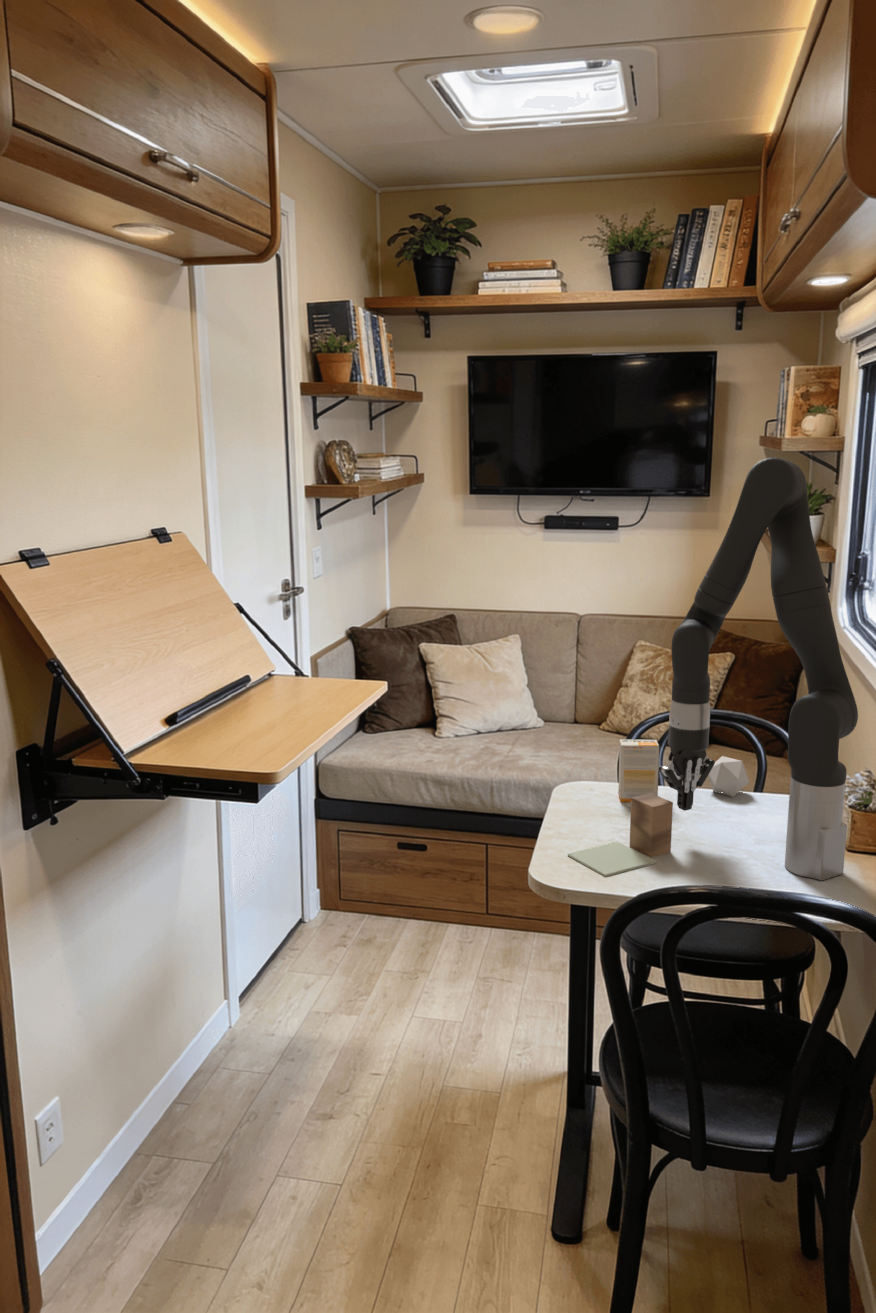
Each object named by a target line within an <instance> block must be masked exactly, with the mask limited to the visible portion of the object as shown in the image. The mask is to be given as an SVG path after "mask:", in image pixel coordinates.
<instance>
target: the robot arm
mask: <svg viewBox="0 0 876 1313" xmlns="http://www.w3.org/2000/svg"><path fill="white" fill-rule="evenodd" d="M807 487H808V485H807V480H806V476H805V473H804V472H803V470H802V469H801V468H800V467H799V465H798V464H796V463H794V462H792V461H790V460H787V459H784V458H780V457H767V458H763V459H760V460H759V461H757V462H756V463H755V464H753V466H752V467H751V468H750V469H749V471H748V473H747V475H746V477H745V480H744V483H743V486H742V488H741V492H740V495H739V499H738V501H737V505H736V507H735V511H734V513H733V516H732V518H731V519H730V520H731V521H730V523H729V526H728V528H727V530H726V533H725V535H724V537H723V540H722V542H721V543H720V546H719V548H718V550H717V551H716V553H715V555H714V558H713V560H712V561H711V563H710V565H709V567H708V569H707V571H706V572H705V574H704V577H703V579H702V580H701V583H700V584H699V587H698V589H697V590H696V591H695V594H694V601H693V603H692V604H691V606H690V608H689V610H688V612H687V614H686V616H685V617H684V618H683V620H682V622H681V624H680V625H679V626H677V628H676V629H675V631H674V632H673V634H672V638H671V663H672V664H671V665H672V666H671V667H672V674H673V676H672V677H673V678H672V683H671V684H672V685H671V702H670V708H669V715H668V717H669V720H668V740H667V744H668V746H669V748H670V751H669V755H668V761H667V762H666V764H665V765H664V766H663V765H659V770H658V773H660V775H661V776H662V777H663V779H664V781H665V782H666V783H667V785H668V787H669V788H670V789H673V790H676V791H677V798H676V799H677V800H676V801H677V802H676V804H677V807H678V808H679V810H682V811H684V812H685V811H690V810H692V806H693V805H694V793H695V792H696V790H697V788H698V787H699V788H701V787H702V786H703V784H704V783H705V781H706V780H707V778H708V775H709V773H710V771H711V769H712V768H713V766H714V764H715V762H716V761H715V760H713V759H712V758H709V757H708V756H707V749H708V747H709V741H710V740H709V739H710V737H709V736H710V721H711V720H710V718H711V710H710V709H711V708H710V698H711V697H710V695H711V694H710V690H711V677H710V674H709V662H710V661H709V660H710V659H709V658H710V657H709V656H710V650H711V648H712V646H713V645H714V642H715V640H716V639H717V638H718V635H719V633H720V630H721V629H722V626H723V624H724V621H725V619H726V616H727V615H728V613H729V612H730V611H731V609H732V608H733V607H734V606H733V605H734V604H735V603H736V600H737V598H738V597H739V594H740V593H741V591H742V589H743V588H744V586H745V584H746V582H747V579H748V577H749V574H750V571H751V568H752V565H753V561H754V559H755V556H756V552H757V550H758V547H759V545H760V543H761V540H762V538H763V537H764V535H765V532H766V531H767V530H768V533H769V539H770V546H771V553H770V556H771V559H770V589H771V595H772V600H773V604H774V610H775V614H776V619H777V621H778V625H779V627H780V629H781V631H782V633H783V635H784V636H785V638H786V639H787V642H788V643H789V644H790V645H791V647H792V648H793V650H794V651H795V654H796V655H797V657H798V658H799V660H800V662H801V665H802V667H803V671H804V675H805V679H806V680H805V681H806V684H807V692H808V694H805V695H803V696H801V697H800V698H798V699H797V700H795V701H794V703H793V705H792V706H791V708H790V712H789V717H788V728H787V729H788V730H787V734H788V735H787V758H788V759H787V760H788V763H789V766H790V783H789V795H788V796H789V798H788V799H789V800H788V808H787V810H788V812H787V825H786V826H787V827H786V840H785V854H784V856H785V857H784V867H785V869H787V870H788V871H789V872H791V873H792V874H795V875H797V876H801V877H805V878H809V879H815V880H818V881H824V880H828V879H830V878H833V877H834V878H835V877H836V876H840V875H843V874H844V867H845V866H844V865H845V855H846V843H847V834H848V832H847V831H848V825H847V823H845V822H843V816H844V804H845V803H844V802H845V796H846V794H845V793H846V791H845V790H846V782H847V768H846V765H845V764H844V763H843V762H842V761H839V741H840V740H841V739H843V738H845V737H847V736H849V735H850V734H851V733H853V731H854V730H855V729H856V727H857V725H858V719H859V713H858V712H859V711H858V706H857V702H856V698H855V696H854V693H853V690H852V687H851V684H850V681H849V677H848V674H847V671H846V669H845V668H846V667H845V664H844V662H843V657H842V654H841V650H840V649H841V648H840V645H839V639H838V636H837V631H836V627H835V622H834V617H833V612H832V607H831V600H830V595H829V591H828V586H827V582H826V579H825V574H824V570H823V567H822V563H821V558H820V555H819V552H818V549H817V545H816V542H815V538H814V536H813V535H814V534H813V531H812V525H811V524H812V523H811V516H810V506H809V497H808V488H807Z"/></svg>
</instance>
